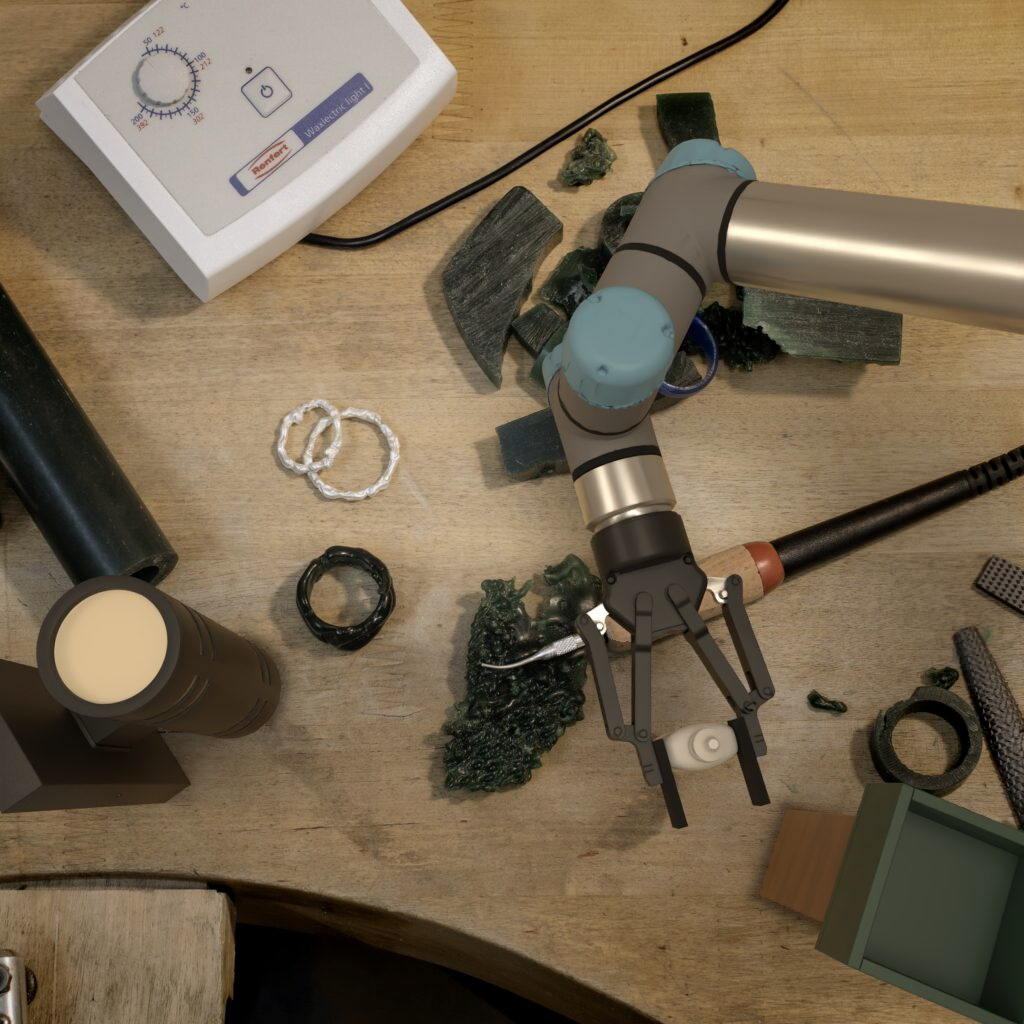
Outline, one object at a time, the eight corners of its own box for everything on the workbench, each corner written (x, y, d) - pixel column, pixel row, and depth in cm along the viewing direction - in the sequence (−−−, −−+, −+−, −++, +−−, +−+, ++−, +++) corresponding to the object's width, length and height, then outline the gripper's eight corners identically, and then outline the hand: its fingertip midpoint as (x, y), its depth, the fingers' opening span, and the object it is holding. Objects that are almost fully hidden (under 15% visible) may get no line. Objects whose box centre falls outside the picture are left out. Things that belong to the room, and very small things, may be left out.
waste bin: (1027, 849, 72) (1081, 855, 65) (980, 1020, 69) (1032, 1045, 63) (866, 782, 73) (903, 782, 66) (813, 948, 70) (847, 965, 64)
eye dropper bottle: (710, 786, 85) (744, 786, 74) (644, 764, 86) (667, 761, 74) (724, 734, 87) (759, 726, 75) (658, 712, 87) (683, 701, 75)
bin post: (868, 843, 96) (995, 864, 72) (841, 930, 94) (962, 981, 70) (785, 808, 96) (883, 817, 72) (757, 894, 95) (847, 932, 70)
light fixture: (304, 707, 98) (213, 671, 66) (166, 804, 96) (2, 815, 64) (244, 616, 100) (128, 538, 68) (107, 708, 98) (-80, 673, 66)
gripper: (734, 506, 88) (824, 783, 82) (519, 561, 87) (596, 846, 81) (755, 481, 81) (855, 782, 75) (521, 540, 79) (605, 852, 74)
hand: (720, 815), depth 78 cm, fingers closed on eye dropper bottle, 6 cm apart
